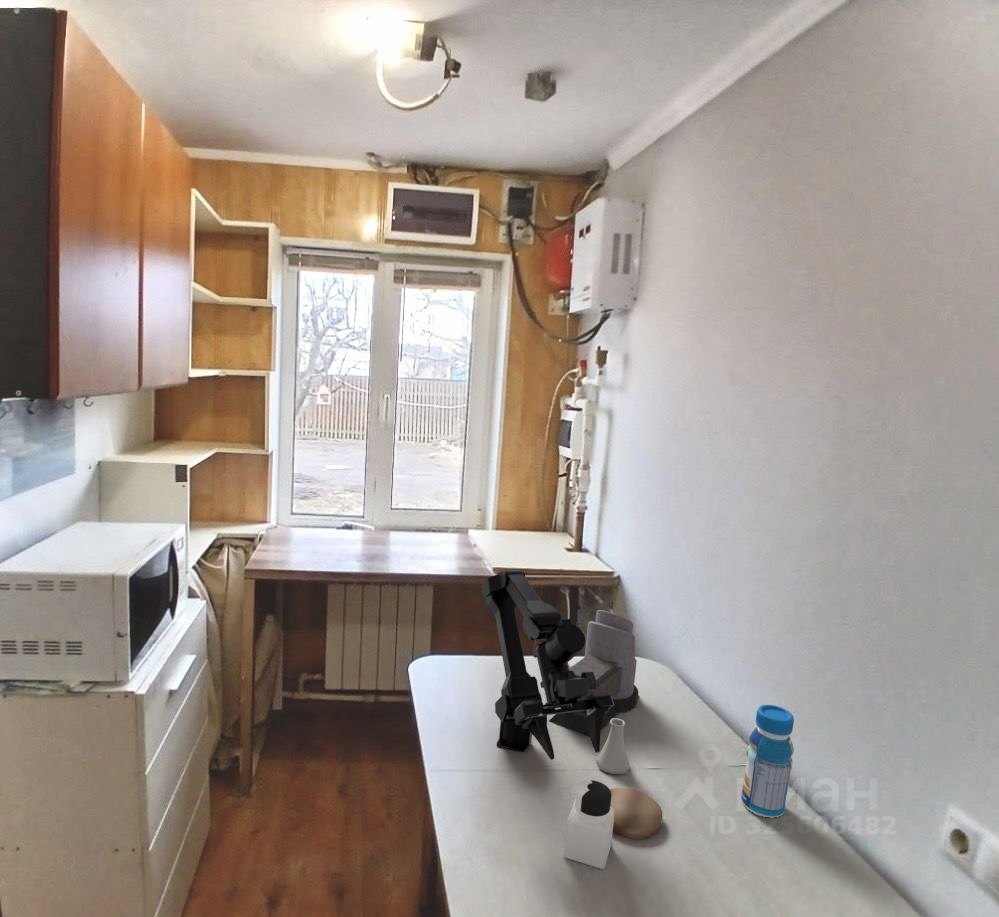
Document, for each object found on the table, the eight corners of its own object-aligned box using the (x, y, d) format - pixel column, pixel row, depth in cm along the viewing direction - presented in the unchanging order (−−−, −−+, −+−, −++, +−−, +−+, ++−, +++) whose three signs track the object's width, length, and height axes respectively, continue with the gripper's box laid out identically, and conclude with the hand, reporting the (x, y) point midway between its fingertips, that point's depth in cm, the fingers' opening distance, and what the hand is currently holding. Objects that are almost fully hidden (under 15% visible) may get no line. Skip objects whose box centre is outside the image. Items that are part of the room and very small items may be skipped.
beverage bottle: (764, 824, 129) (778, 727, 127) (730, 798, 137) (743, 705, 134) (794, 814, 133) (808, 719, 131) (760, 789, 141) (773, 698, 138)
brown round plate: (592, 828, 124) (593, 818, 124) (601, 791, 136) (602, 781, 136) (659, 846, 121) (660, 836, 121) (662, 806, 133) (664, 796, 132)
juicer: (592, 675, 187) (601, 590, 184) (648, 694, 179) (658, 605, 176) (540, 718, 162) (549, 621, 159) (601, 742, 154) (612, 640, 150)
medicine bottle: (611, 843, 121) (618, 781, 119) (604, 870, 114) (611, 805, 113) (572, 832, 123) (578, 771, 121) (563, 857, 116) (569, 793, 115)
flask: (629, 778, 141) (634, 733, 140) (594, 771, 142) (599, 727, 141) (630, 759, 148) (635, 716, 147) (596, 753, 149) (601, 710, 148)
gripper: (524, 660, 123) (544, 750, 114) (614, 652, 130) (639, 737, 121) (505, 681, 131) (522, 767, 123) (590, 673, 138) (612, 753, 129)
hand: (575, 755), depth 124 cm, fingers open, 9 cm apart
